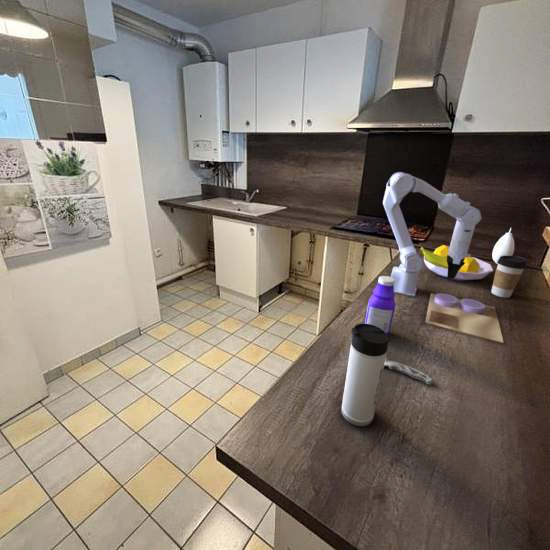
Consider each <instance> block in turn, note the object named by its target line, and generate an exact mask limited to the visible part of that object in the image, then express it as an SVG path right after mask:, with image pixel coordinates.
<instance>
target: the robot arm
mask: <svg viewBox="0 0 550 550" xmlns="http://www.w3.org/2000/svg"><path fill="white" fill-rule="evenodd" d="M385 187H386V188H385V191H384V196H383V200H382V205H383V208H384V211H385V214H386V216H387V219H388V222H389V224H390V227H391V229H392V233H393V235H394V237H395V240H396V243H397V246H398V250H399V261H400V262H401V263H400V264H399V266H393V267H392V270H391V274H390V277H391V278H393V279H394V280H395V281H394V293H397V294H398V293H399V294H403V295H407V296H412V297H415V296H416V293H417V290H418V288H417V285H418V281H419V276H420V272H421V270H422V269H423V267H424V259H423V258H422V257H420V256H419V254H418V252H417V250H416V248H415V246H414V243H413V240H412V238H411V235H410V232H409V229H408V227H407V223H406V221H405V218H404V215H403V211H402V210H401V207H400V204H401V203H402V201H403V200H404V198H405V197H406V196H407V195H408V194H409V193H410V192H412V193H419V194H422V195H423V196H426V197H427V198H429V199H431V200H433V201H434V202H436V203H437V206H438V209H439V210H441V211H443V212H444V213H445V214H447V215H449V216H450V217H452V218H454V219H455V220H456V222H455V225H454V229H453V233H452V236H451V240H450V244H449V246H450V247H449V251H448V252H447V254H448V255H447V264H448V275H447V276H448V277H447V278H448V279H453V280H455V279H454V278H455V277H456V275H457V273H458V271H459V269H460V268H461V267H462V266H463V265H464V264H465V262H463V261H464V260H465V258H466V257H472V256H471V254H470V253H468V252H469V249H470V244H471V241H472V238H473V235H474V231H475V228H476V225H477V224H479V222H480V221H481V220H482V218H483V217H482V214H481V211H480V209H478V208H476V207H474V206H472V205H471V202H469V201H464V200H462V198H460V197H459V195H458V194H457V193H446V194H444V193H443V192H442V191H440V190H438V189H437V188H435V187H434V186H432V185H431V184H429V183H428V182H426V181H425V180H423V179H420V178H419V177H416V176H413V175H412V174H410V173H405V172H403V171H397V172H394V173H393V174H392V175H391V176H390V178H389V179H388V181H387V183H386V186H385Z"/></svg>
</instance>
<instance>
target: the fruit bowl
mask: <svg viewBox="0 0 550 550" xmlns="http://www.w3.org/2000/svg"><path fill="white" fill-rule="evenodd" d="M449 247H450V245H445V244H442V245H440V246H439V247H436V248H435V250H434V251H433V252H432V251H429V250H426V249H425V248H424V247H420V250H421V251H422V255H423V263H424V265H425V266H426V268H427V269H428V270H430V271H432V272H433V273H435V274H437V275H438V276H440V277H441V276H442V277H445V278H448V276H447V275H448V264H447V255H448V254H447V252H448V251H449ZM463 262H465V264H464V265H463V266H462V267H461V268H460V269H459V271H458V273H457V275H456V277H455V278H454V279H453V280H456V281H474V280H482V279H483V278H485V277H486V276H488V275H490V274H491V273H492V272H494V268H493V267H492V265H491V264H490V263H488V262H486V261H484V260H482V259H479V258H477V257H474V256H470V257H466V258H465V260H464V261H463Z"/></svg>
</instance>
